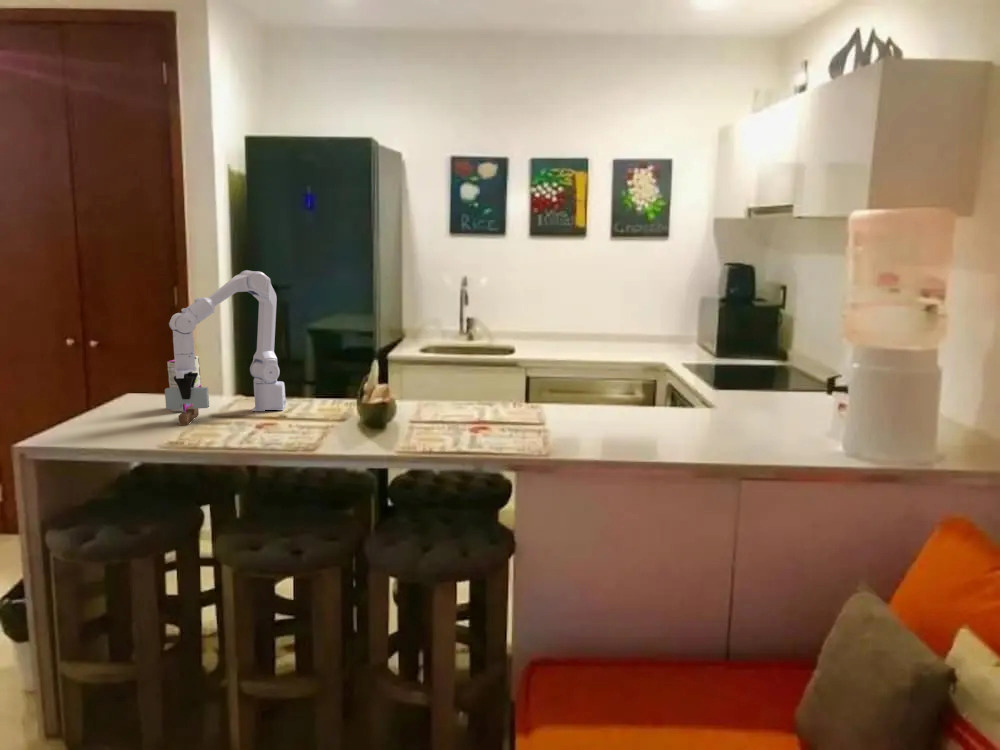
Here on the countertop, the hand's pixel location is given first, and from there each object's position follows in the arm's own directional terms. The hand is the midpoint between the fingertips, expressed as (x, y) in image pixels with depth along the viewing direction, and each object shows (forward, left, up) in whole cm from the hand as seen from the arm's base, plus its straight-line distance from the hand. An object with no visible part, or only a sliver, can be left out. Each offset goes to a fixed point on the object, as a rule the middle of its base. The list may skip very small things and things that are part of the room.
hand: (187, 398), depth 259 cm
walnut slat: (0, 0, -7) cm, 7 cm away
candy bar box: (+5, -18, -7) cm, 20 cm away
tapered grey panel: (0, 0, -3) cm, 3 cm away
